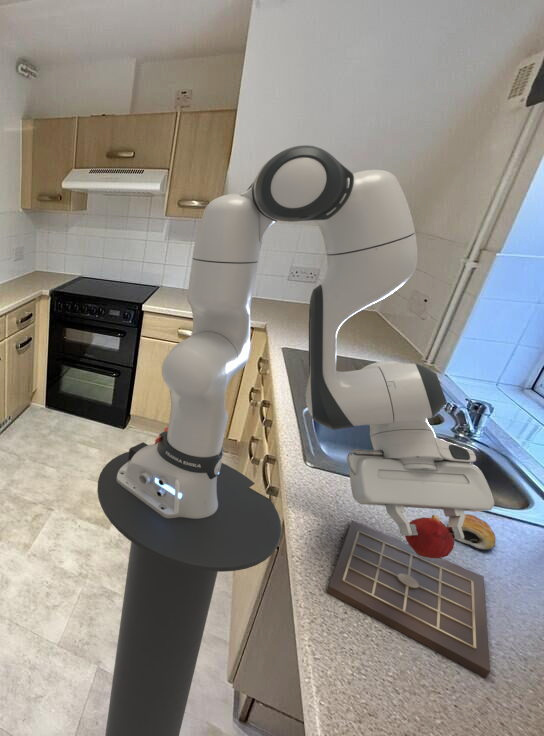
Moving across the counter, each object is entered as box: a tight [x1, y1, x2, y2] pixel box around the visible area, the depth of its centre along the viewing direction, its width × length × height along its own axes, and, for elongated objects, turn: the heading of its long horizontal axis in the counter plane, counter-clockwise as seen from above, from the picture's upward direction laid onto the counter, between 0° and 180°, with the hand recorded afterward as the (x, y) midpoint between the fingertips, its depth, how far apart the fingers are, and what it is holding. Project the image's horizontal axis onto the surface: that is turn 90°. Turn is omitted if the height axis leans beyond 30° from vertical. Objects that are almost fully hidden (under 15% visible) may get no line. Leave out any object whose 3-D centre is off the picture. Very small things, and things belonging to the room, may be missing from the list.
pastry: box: [454, 513, 497, 551], centre depth 83 cm, size 9×7×4 cm
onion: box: [404, 514, 455, 559], centre depth 68 cm, size 6×6×8 cm
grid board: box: [326, 519, 491, 679], centre depth 71 cm, size 19×22×2 cm
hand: (432, 537), depth 67 cm, fingers closed on onion, 5 cm apart
